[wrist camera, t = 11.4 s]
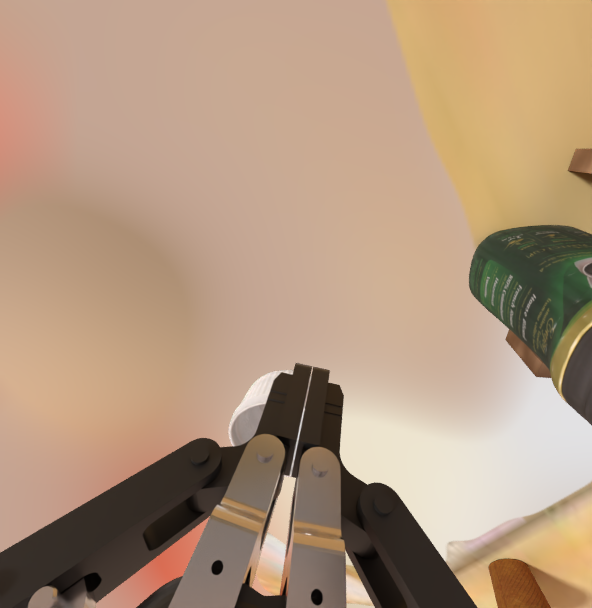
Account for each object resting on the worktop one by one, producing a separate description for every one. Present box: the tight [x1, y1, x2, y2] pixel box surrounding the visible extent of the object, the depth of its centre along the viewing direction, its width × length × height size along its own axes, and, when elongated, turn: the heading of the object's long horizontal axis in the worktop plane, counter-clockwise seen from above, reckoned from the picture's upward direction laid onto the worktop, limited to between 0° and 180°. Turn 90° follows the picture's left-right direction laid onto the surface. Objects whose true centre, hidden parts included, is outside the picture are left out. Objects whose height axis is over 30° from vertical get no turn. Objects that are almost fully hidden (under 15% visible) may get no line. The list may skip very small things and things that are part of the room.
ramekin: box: [229, 370, 311, 477], centre depth 39 cm, size 13×13×7 cm
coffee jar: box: [469, 225, 592, 425], centre depth 21 cm, size 10×8×19 cm
